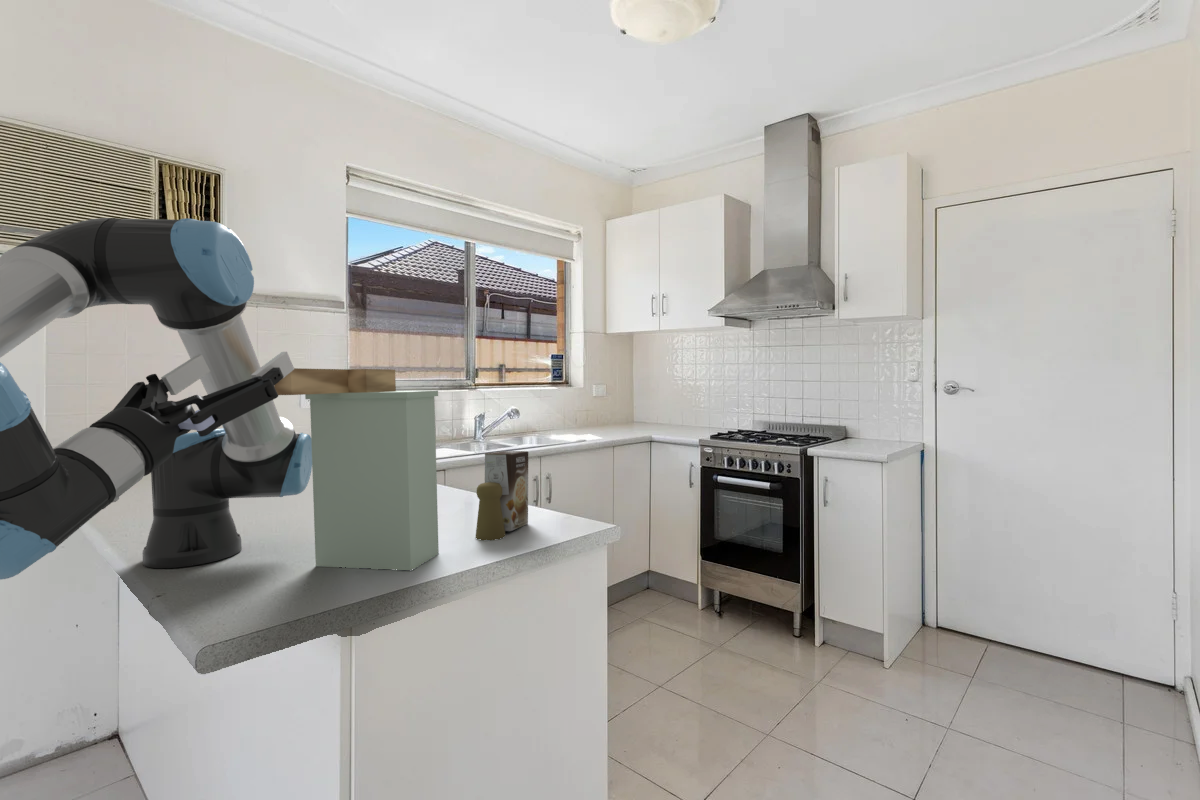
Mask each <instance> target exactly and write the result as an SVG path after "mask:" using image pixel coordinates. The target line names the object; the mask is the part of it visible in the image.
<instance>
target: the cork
mask: <svg viewBox="0 0 1200 800" xmlns="http://www.w3.org/2000/svg"><path fill="white" fill-rule="evenodd" d="M475 492H476V496H477V499H479V503H478V510H477V518H476V527H475V539H476V538H477V539H476V540H478V539H481V540H480V541H484V540H490V541H496V540H495V539H498V540H501V539H500V538H502V539H504V538H505V537H506V536H505V535H506V531H505V529H504V522H503V516H502V509H501V503H500V498H501V496H502V493H503V490H502V487H501V485H500V484H499V483H495V482H486V483H485V482H483V483H480V484H478V486H477V487H476V491H475ZM503 537H504V538H503Z"/></svg>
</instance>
